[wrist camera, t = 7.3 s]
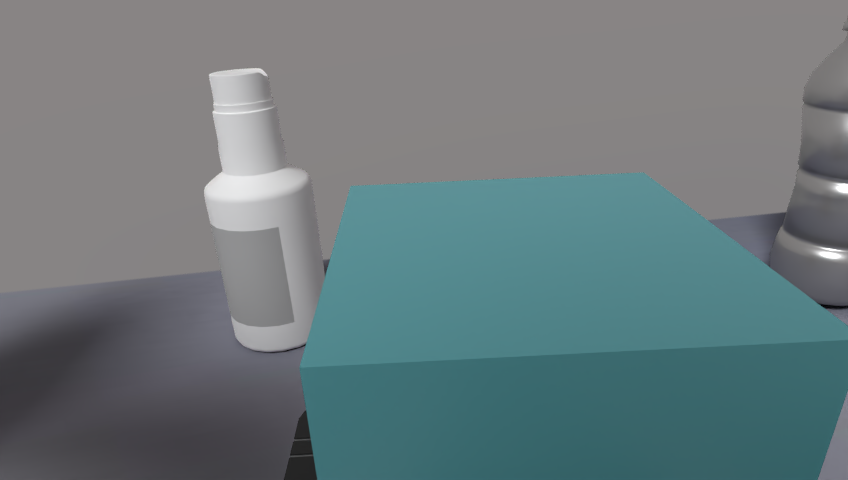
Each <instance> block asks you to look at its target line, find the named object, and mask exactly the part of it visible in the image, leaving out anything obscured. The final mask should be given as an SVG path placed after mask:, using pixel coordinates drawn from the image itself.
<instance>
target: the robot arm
mask: <svg viewBox="0 0 848 480" xmlns="http://www.w3.org/2000/svg"><path fill="white" fill-rule="evenodd" d="M284 480H317V475H316V469H315V462H314V456H313V450H312V443H311V437H310V431H309V424H308V418H307V412H306V411H305V412H304V413H303V414H302V416H301V417H300V418H299V421H298V425H297V429H296V433H295V437H294V442H293V446H292V450H291V454H290V458H289V462H288V466H287V470H286V474H285V478H284Z"/></svg>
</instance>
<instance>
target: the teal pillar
mask: <svg viewBox="0 0 848 480" xmlns="http://www.w3.org/2000/svg"><path fill="white" fill-rule="evenodd" d="M300 374H301V380H302V386H303V393H304V399H305V405H306V412H307V418H308V424H309V431H310V437H311V443H312V450H313V456H314V462H315V469H316V475H317V480H818V477H819V474H820V471H821V468H822V465H823V462H824V459H825V456H826V453H827V450H828V447H829V444H830V441H831V438H832V435H833V433H834V430H835V427H836V424H837V421H838V418H839V415H840V412H841V409H842V406H843V403H844V400H845V397H846V394H847V391H848V326H847V325H846V324H845V323H843V322H842V321H841V320H839V319H838V318H837V317H835V316H834V315H833V314H831V313H830V312H829V311H827V310H826V309H825V308H823V307H822V306H821V305H819V304H818V303H817V302H815V301H814V300H813V299H811V298H810V297H809V296H807V295H806V294H805V293H803V292H802V291H801V290H799V289H798V288H797V287H795V286H794V285H793V284H791V283H790V282H789V281H787V280H786V279H785V278H783V277H782V276H781V275H779V274H778V273H777V272H775V271H774V270H773V269H771V268H770V267H769V266H767V265H766V264H765V263H763V262H762V261H761V260H759V259H758V258H757V257H755V256H754V255H753V254H751V253H750V252H749V251H747V250H746V249H745V248H743V247H742V246H741V245H739V244H738V243H737V242H735V241H734V240H733V239H731V238H730V237H729V236H728V235H726V234H725V233H724V232H722V231H721V230H720V229H718V228H717V227H716V226H714V225H713V224H712V223H710V222H709V221H708V220H706V219H705V218H704V217H702V216H701V215H700V214H698V213H697V212H696V211H694V210H693V209H692V208H690V207H689V206H688V205H686V204H685V203H684V202H682V201H681V200H680V199H678V198H677V197H676V196H674V195H673V194H672V193H670V192H669V191H668V190H666V189H665V188H664V187H662V186H661V185H660V184H658V183H657V182H656V181H654V180H653V179H652V178H650V177H649V176H648V175H646V174H645V173H623V174H622V173H621V174H600V175H579V176H560V177H559V176H557V177H535V178H515V179H493V180H472V181H450V182H428V183H406V184H386V185H385V184H384V185H365V186H364V185H363V186H351V187H350V190H349V194H348V197H347V201H346V205H345V208H344V212H343V215H342V219H341V222H340V226H339V230H338V233H337V237H336V240H335V244H334V247H333V251H332V254H331V258H330V261H329V265H328V268H327V272H326V275H325V279H324V283H323V286H322V290H321V293H320V297H319V300H318V304H317V307H316V311H315V315H314V318H313V322H312V325H311V329H310V332H309V336H308V339H307V343H306V346H305V350H304V354H303V357H302V361H301V364H300Z"/></svg>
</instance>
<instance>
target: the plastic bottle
mask: <svg viewBox="0 0 848 480" xmlns="http://www.w3.org/2000/svg"><path fill="white" fill-rule="evenodd" d="M843 30H846V31H848V18H847V22H844V26H843ZM803 101H804V104H803V108H802V135H801V148H800V154H799V161H798V164H799V169H798V170H797V175H796V182H795V186H794V190H793V193H792V196H791V200H790V203H789V206H788V209H787V212H786V215H785V219H784V222H783V225H782V226H781V228H780V230H779V232H778V234H777V236H776V238H775V241H774V244H773V247H772V249H771V252H770V268H771V269H773V270H774V271H775V272H777V273H778V274H779V275H781V276H782V277H783V278H785V279H786V280H787V281H789V282H790V283H791V284H793V285H794V286H795V287H797V288H798V289H799V290H801V291H802V292H803V293H805V294H806V295H807V296H809V297H810V298H811V299H813V300H814V301H815V302H817V303H819V304H825V305H834V306H847V305H848V34H847V37H846V39H845V41H844V42H843V43H842V44H841V45H840V46H839V47H837V48H836V49H835V50H834V51H833V52H832V53H831V54H830V55H829V56H827V57H826V58H825V59H824V61H822V63H821V64H820V65H819V66H818V67H817V68H816V69H815V70H814V71H813V72H812V74H811V76H810V78H809V79H808V81H807V83H806V85H805V87H804V94H803Z"/></svg>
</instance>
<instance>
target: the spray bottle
mask: <svg viewBox="0 0 848 480" xmlns="http://www.w3.org/2000/svg"><path fill="white" fill-rule="evenodd" d="M209 79H210V83H211V88H212V94H213V99H214V103H213V106H214V110H213V112H212V114H213V119H214V123H215V128H216V133H217V138H218V143H219V145H218V150H219V155H220V160H221V165H222V169H223V171H222V172H221V173H220V174H218V175H217V176H216V177H215V178H214V179H212V180H211V181H210V182H209V183H208V184H207V185H206V187H205V188H204V195H205V201H206V205H207V210H208V215H209V219H210V224H211V228H212V233H213V237H214V242H215V246H216V251H217V255H218V260H219V264H220V268H221V273H222V278H223V282H224V287H225V291H226V296H227V300H228V305H229V309H230V314H231V318H232V323H233V327H234V332H235V336H236V339H237V340H238V341H239V342H240V343H241V344H242V345H243V346H244V347H246V348H249V349H251V350H254V351H261V352H278V351H286V350H290V349H294V348H298V347H300V346H303V345H305V344H306V343H307V339H308V336H309V332H310V329H311V325H312V322H313V318H314V315H315V311H316V307H317V304H318V300H319V297H320V293H321V290H322V286H323V283H324V279H325V272H324V265H323V258H322V251H321V245H320V237H319V230H318V223H317V216H316V209H315V201H314V194H313V187H312V181H311V178H310V176H309V174H308V173H307V172H306V171H304V170H303V169H300V168H298V167H296V166H293V165H291V164H289V163H287V159H286V152H285V146H284V140H283V138H282V136H281V130H280V123H279V117H278V110H277V106H276V105H275V104H274V101H273V97H272V96H271V90H270V84H269V78H268V75H267V74H266V73H265V72H264V71H263V70H262V69H260V68H249V69H236V70H226V71H220V72H214V73H211V74H209Z"/></svg>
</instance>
